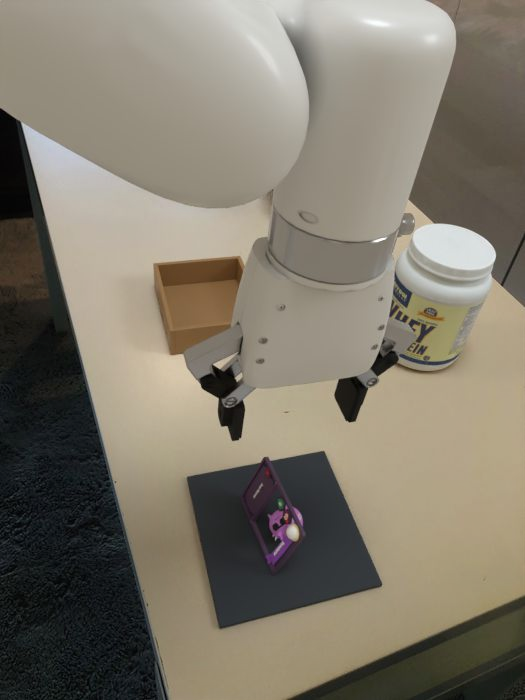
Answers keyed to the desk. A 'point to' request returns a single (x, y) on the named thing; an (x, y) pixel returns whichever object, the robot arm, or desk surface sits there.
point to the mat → (305, 562)
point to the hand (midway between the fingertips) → (289, 417)
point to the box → (196, 298)
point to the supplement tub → (440, 292)
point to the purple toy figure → (282, 521)
